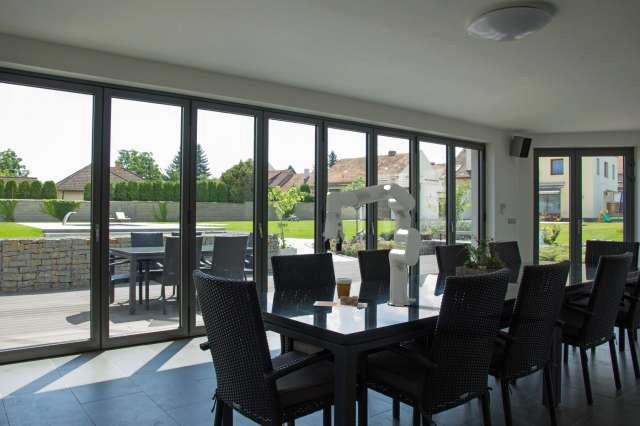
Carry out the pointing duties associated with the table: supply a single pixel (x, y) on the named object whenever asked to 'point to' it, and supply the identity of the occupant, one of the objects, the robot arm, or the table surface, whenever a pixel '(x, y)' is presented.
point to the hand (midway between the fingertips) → (333, 250)
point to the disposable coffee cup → (343, 287)
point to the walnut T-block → (349, 300)
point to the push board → (338, 304)
